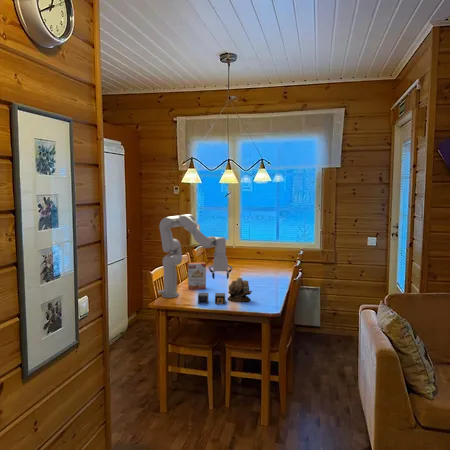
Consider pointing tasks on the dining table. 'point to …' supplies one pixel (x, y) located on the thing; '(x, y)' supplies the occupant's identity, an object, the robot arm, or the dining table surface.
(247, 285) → the brown stone statue
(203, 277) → the cracker box
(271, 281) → the dining table surface
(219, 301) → the letter cube
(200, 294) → the left cover
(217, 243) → the robot arm
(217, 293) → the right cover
